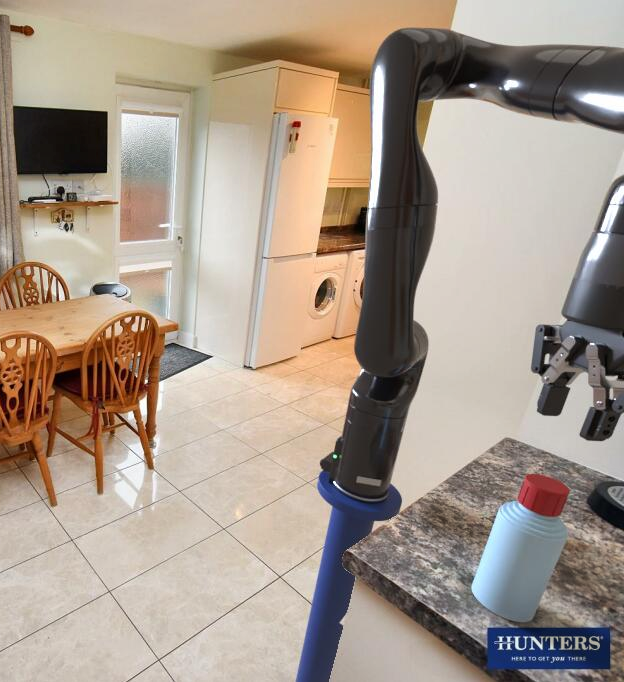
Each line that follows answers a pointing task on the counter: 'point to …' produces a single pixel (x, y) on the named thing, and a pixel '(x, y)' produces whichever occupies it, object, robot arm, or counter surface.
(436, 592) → the counter surface
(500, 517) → the bottle
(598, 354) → the robot arm
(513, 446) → the counter surface
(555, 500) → the cap
